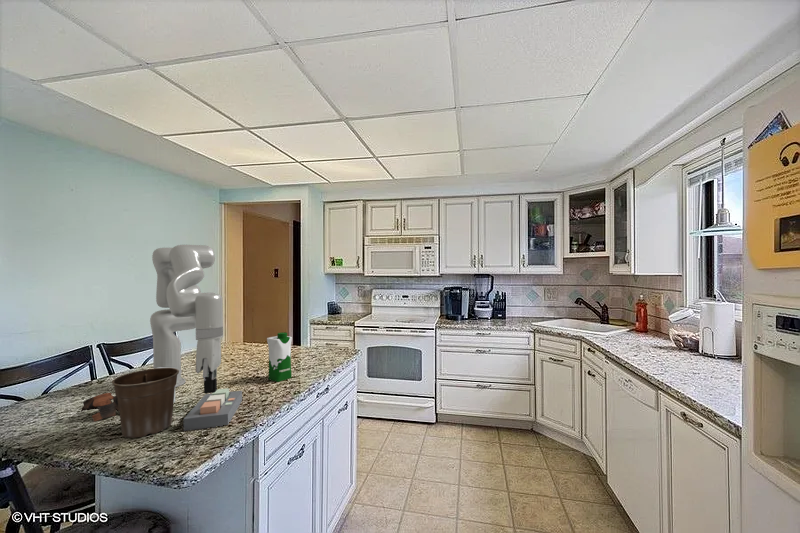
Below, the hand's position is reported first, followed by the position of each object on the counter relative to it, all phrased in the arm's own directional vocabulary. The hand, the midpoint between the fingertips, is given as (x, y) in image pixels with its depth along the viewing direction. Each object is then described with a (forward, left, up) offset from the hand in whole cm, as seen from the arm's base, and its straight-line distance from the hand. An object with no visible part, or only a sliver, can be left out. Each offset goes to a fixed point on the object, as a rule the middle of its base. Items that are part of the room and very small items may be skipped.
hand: (210, 392), depth 106 cm
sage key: (-12, 0, -7) cm, 14 cm away
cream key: (-6, 0, -7) cm, 9 cm away
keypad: (-6, 0, -9) cm, 11 cm away
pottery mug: (-16, -36, -10) cm, 41 cm away
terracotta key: (0, 0, -7) cm, 7 cm away
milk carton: (-39, +17, -10) cm, 44 cm away
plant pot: (0, -17, -10) cm, 20 cm away
